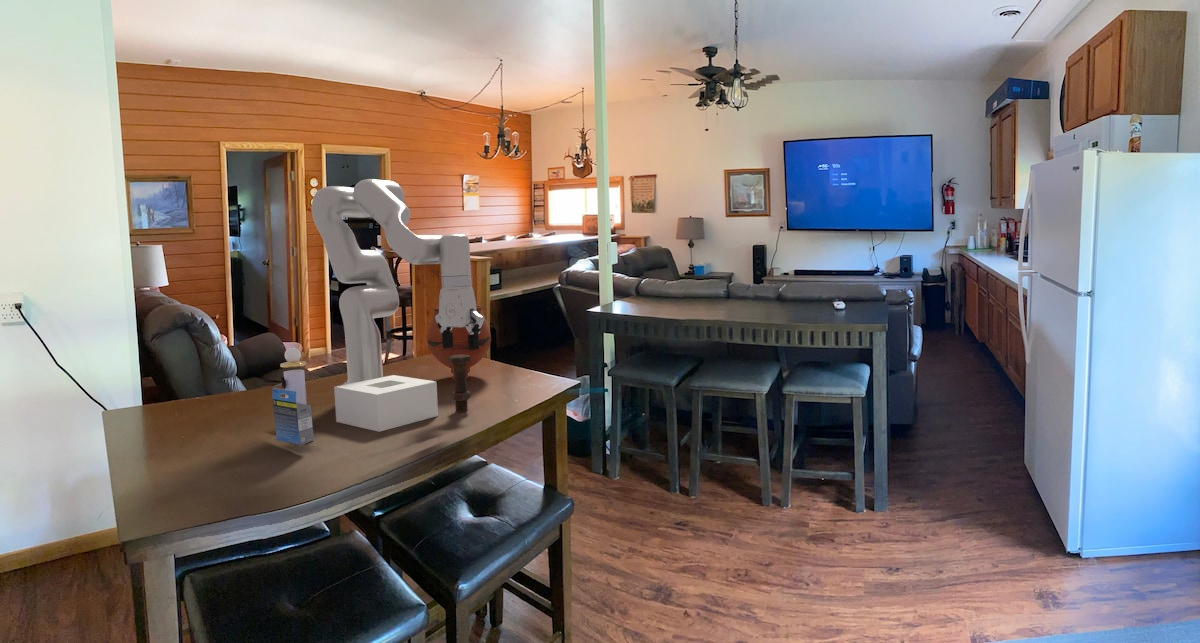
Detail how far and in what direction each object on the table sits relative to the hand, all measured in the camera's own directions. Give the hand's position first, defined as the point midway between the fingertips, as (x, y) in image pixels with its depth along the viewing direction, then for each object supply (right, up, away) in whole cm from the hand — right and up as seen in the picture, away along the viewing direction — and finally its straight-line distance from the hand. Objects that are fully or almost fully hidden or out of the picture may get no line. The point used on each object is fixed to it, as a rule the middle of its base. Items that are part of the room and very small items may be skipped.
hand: (460, 348), depth 179 cm
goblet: (-7, -13, +35) cm, 38 cm away
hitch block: (-18, -18, -3) cm, 25 cm away
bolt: (0, -17, +2) cm, 17 cm away
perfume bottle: (-37, -19, -11) cm, 44 cm away
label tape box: (-33, -20, -22) cm, 45 cm away
